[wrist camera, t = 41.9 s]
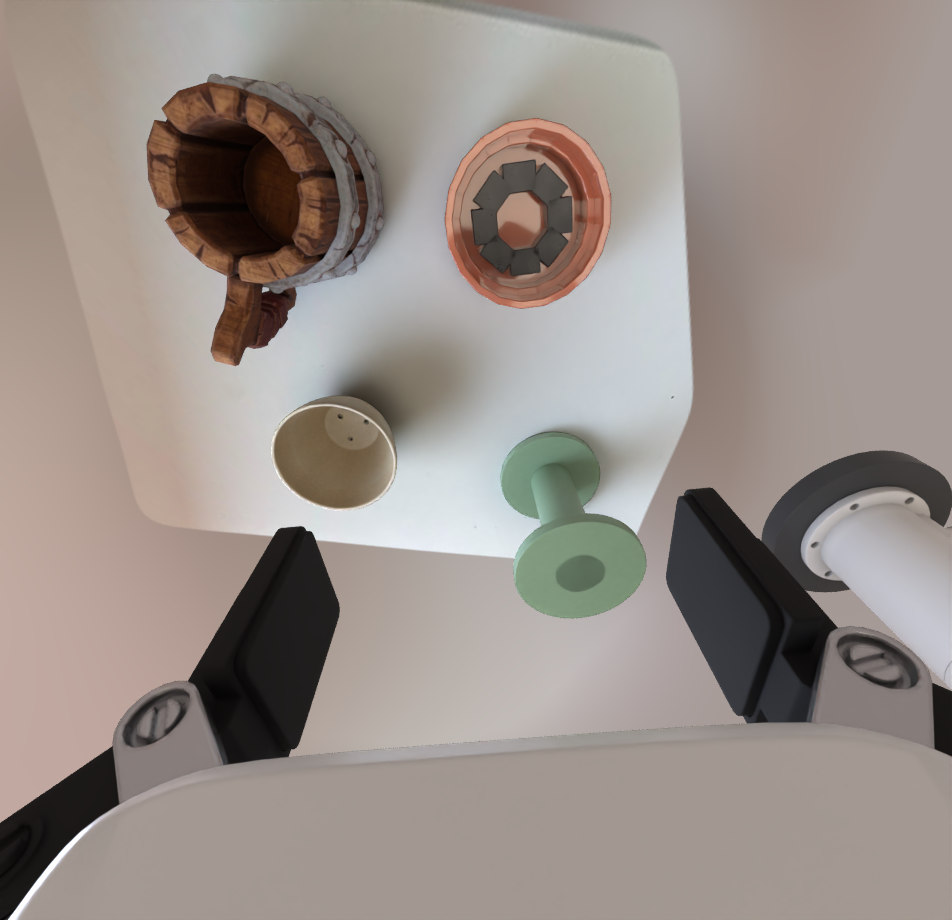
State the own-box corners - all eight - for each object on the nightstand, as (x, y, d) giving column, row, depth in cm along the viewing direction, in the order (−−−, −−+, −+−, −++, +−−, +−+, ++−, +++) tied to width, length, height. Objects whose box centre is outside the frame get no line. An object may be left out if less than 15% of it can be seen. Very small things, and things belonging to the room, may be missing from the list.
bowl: (592, 119, 31) (613, 106, 26) (591, 285, 36) (608, 297, 32) (436, 142, 31) (432, 133, 27) (458, 303, 37) (458, 317, 32)
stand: (598, 425, 43) (651, 513, 31) (596, 508, 48) (642, 611, 36) (496, 438, 43) (509, 530, 31) (505, 518, 48) (519, 624, 36)
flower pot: (425, 443, 43) (418, 483, 37) (340, 482, 45) (320, 526, 39) (368, 353, 39) (350, 382, 32) (276, 401, 41) (243, 437, 34)
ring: (566, 156, 31) (572, 153, 30) (568, 265, 35) (573, 268, 33) (466, 170, 32) (466, 169, 30) (478, 277, 35) (479, 280, 34)
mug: (407, 115, 30) (356, 130, 19) (374, 310, 39) (325, 403, 27) (227, 44, 28) (44, 12, 17) (235, 268, 37) (119, 348, 25)
